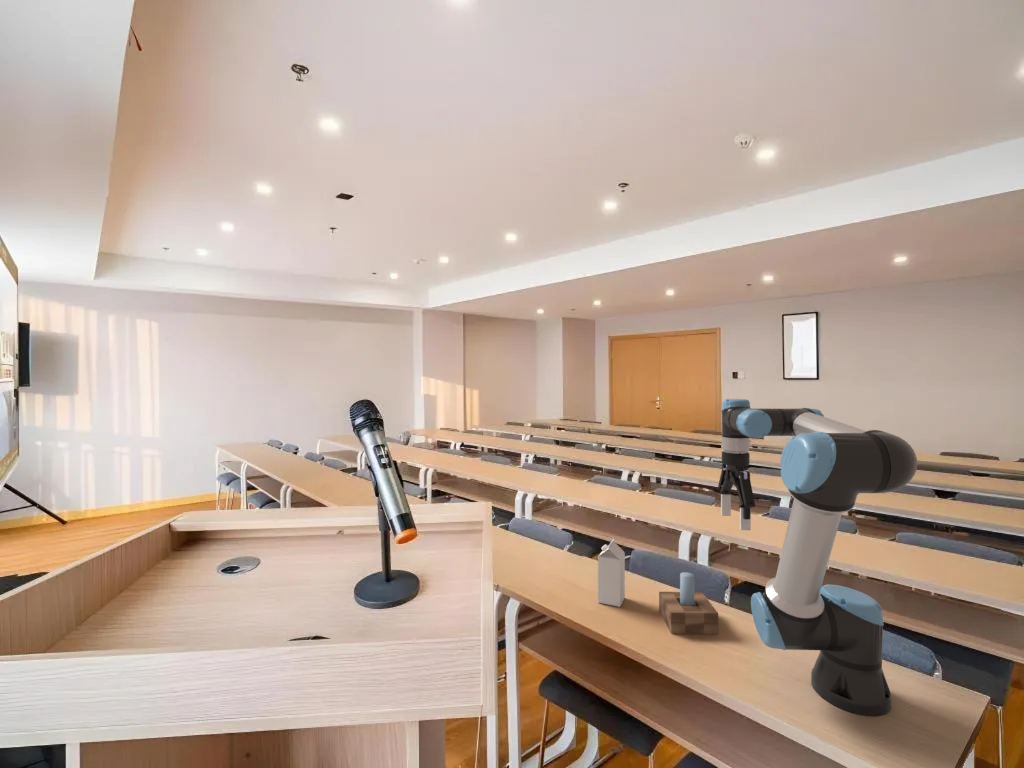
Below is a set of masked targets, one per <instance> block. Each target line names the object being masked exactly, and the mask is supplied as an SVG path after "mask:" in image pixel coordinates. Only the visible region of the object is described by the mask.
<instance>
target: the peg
mask: <svg viewBox="0 0 1024 768" xmlns="http://www.w3.org/2000/svg"><path fill="white" fill-rule="evenodd" d="M695 578H696V577H695V574H694V573H691V572H688V571H687V572H686V571H683V572H680V573H679V592H680V605H681V606H695V592H696V591H695V589H696V588H695Z"/></svg>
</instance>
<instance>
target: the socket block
mask: <svg viewBox="0 0 1024 768" xmlns="http://www.w3.org/2000/svg"><path fill="white" fill-rule="evenodd" d="M658 594H659V596H658V602H659V603H658V612H659V613H660V615H661V617H662V619H663V621H664V623H665V625H666V627H667V628H668V631H669V632H670V634H672V635H674V634H676V635H681V634H682V635H683V634H684V635H719V613H718V610H717V609H716V608H715V606H713V604H712V603H711V602H710V600H709V599H708V598H707V597H706V596H705V594H704V593H703V591H695V606H681V605H680V591H659V592H658Z"/></svg>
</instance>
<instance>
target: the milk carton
mask: <svg viewBox="0 0 1024 768" xmlns="http://www.w3.org/2000/svg"><path fill="white" fill-rule="evenodd" d="M601 550H602V551H601V552H600V554H599V555H598V556H597V603H598V604H604V605H609V606H613V607H618V608H619V607H621V606H622V604H623V602H624V600H625V597H626V595H625V594H626V590H625V589H626V583H625V582H626V579H625V578H626V575H625V574H626V571H625V569H626V564H625V563H626V562H625V561H626V559H625V558H626V555H625V551H624V550H623V549H622V548H621V547H620V546H619V545H618V544H616V542H615V538H613V539H612V540H611V541H610V543H609V544H604V545H602V547H601Z"/></svg>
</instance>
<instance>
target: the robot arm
mask: <svg viewBox="0 0 1024 768" xmlns="http://www.w3.org/2000/svg"><path fill="white" fill-rule="evenodd" d="M750 404H751V402H750V400H748V399H743V398H726V399H723V400H722V404H721V411H720V412H721V450H722V451H721V463H722V464H721V472H720V476H719V482H718V485H717V490H718V491H719V492H720V516H721V517H731V514H732V505H731V504H732V501H731V500H732V494H733V493H732V488H733V486H734V487H735V488H736V492H737V495H738V499H739V502H740V505H739V506H738V508H739V530H740V531H751V524H752V523H751V522H752V521H751V519H752V517H751V514H752V513H751V512H752V511H751V509H752V508H755V507H756V502H755V498H754V493H753V488H752V483H751V473H750V471H745V467H747V466H750V464H751V463H750V453H749V451H750V443H751V442H752V441H751V440H750V438H752V439H753V438H755V439H757V438H759V439H760V438H763V437H791V438H789V440H788V441H787V442H786V444H785V446H783V449H782V452H781V455H780V460H779V461H780V462H779V465H780V467H781V469H780V477H781V481H782V482H783V484H784V486H785V487H786V488H787V491H788V494H789V495H790V496H791V497H792V498H793V501H792V506H791V510H790V514H789V518H788V523H787V527H786V530H785V535H784V540H783V544H782V548H781V553H780V557H779V562H778V566H777V571H776V573H775V574H776V575H775V577H772V578H771V579H769V580H768V581H767V582H766V584H765V588H764V592H760V591H758V592H755V593H752V595H751V598H750V609H751V615H752V619H753V622H754V626H755V629H756V632H757V633H758V634H757V635H758V636H759V638H760V639H761V641H762V642H763V644H765V646H766V647H768V648H771V649H774V650H775V649H777V650H783V651H787V650H789V651H790V650H791V651H795V650H796V651H819V654H818V655H817V658H816V660H815V663H814V666H813V667H812V669H811V673H810V674H811V676H810V682H811V683H810V684H811V686H812V688H813V691H815V692H816V693H817V695H819V696H820V698H822V699H824V700H825V701H826V702H828V703H829V704H832V705H833V706H836V707H838V708H840V709H842V710H845V711H847V712H850V713H854V714H859V715H862V716H872V717H873V716H881V715H886V714H887V713H889V712H890V711H891V709H892V693H891V691H890V688H889V684H888V682H887V680H886V676H885V673H884V671H883V670H884V669H883V639H884V638H883V634H884V633H883V629H884V628H883V627H884V625H885V622H884V616H883V610H882V606H881V605H880V603H878V601H877V600H876V599H874V598H873V597H872V596H869V595H868V594H866V593H864V592H861V591H859V590H856V589H853V588H852V587H847V586H843V585H838V584H825V585H823V582H824V579H825V576H826V571H827V568H828V564H829V561H830V557H831V553H832V550H833V547H834V544H835V541H836V540H835V539H836V535H837V532H838V528H839V527H840V526H839V525H840V523H841V518H842V516H843V513H848V512H850V511H852V509H853V508H854V506H855V505H856V504H855V503H856V500H857V497H858V495H859V494H887V493H891V492H895V491H898V490H900V489H901V488H903V487H905V486H906V485H908V483H910V482H911V480H912V479H913V478H914V476H915V474H916V472H917V470H918V458H917V454H916V452H915V450H914V448H913V447H912V446H911V445H910V444H909V443H908V442H907V441H906V440H905V439H903V438H901V437H900V436H897V435H895V434H892V433H890V432H885V431H882V430H878V429H869V430H864V429H862V428H858V427H856V426H853V425H849V424H847V423H843V422H841V421H838V420H835V419H832V418H829V417H825V416H824V414H823V413H822V411H821V410H820V409H818V408H809V407H802V408H751V405H750Z"/></svg>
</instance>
